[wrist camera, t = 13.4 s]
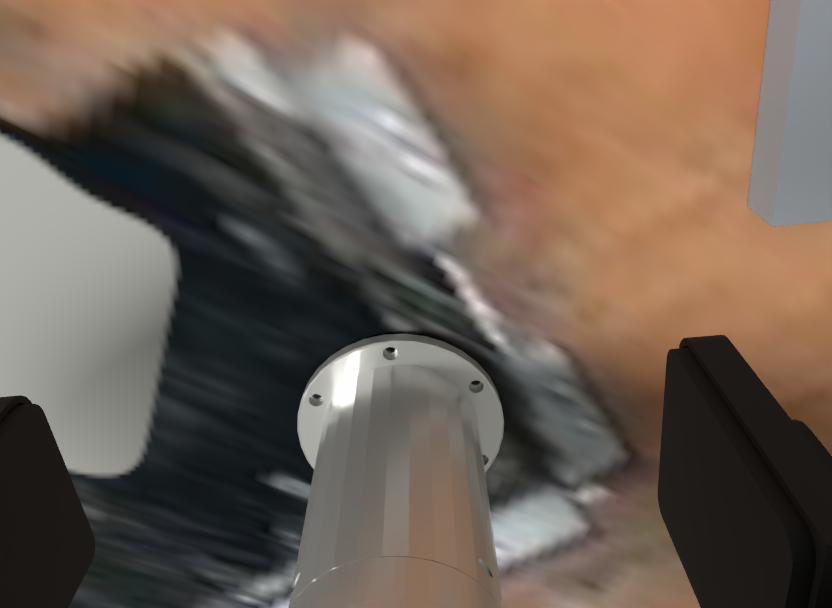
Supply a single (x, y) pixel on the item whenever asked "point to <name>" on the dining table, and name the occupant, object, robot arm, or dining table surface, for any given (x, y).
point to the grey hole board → (795, 117)
